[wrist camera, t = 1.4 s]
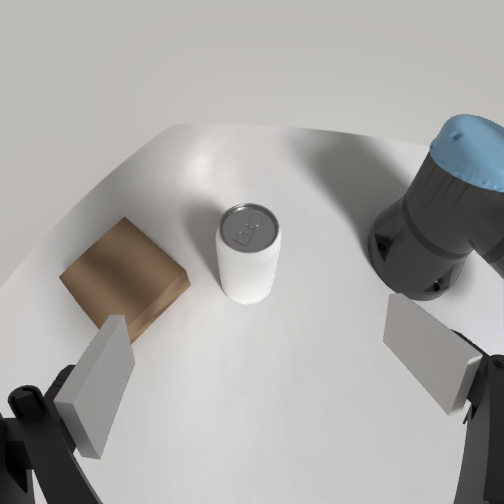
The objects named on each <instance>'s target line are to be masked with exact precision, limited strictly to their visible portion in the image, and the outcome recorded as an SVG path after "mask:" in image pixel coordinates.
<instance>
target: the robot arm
mask: <svg viewBox="0 0 504 504" xmlns="http://www.w3.org/2000/svg"><path fill="white" fill-rule="evenodd" d="M473 249H474V250H475V251H476V252H477V253H478V254H479V255H480V256H481V257H482V258H483V259H484V260H485V261H486V262H487V263H488V264H489V265H490V266H491V267H492V268H493V269H494V270H495V271H496V272H497V273H498V274H499V275H500V276H501V277H502V278H503V279H504V128H503V127H502V126H500V125H498V124H496V123H494V122H492V121H490V120H488V119H485V118H483V117H479V116H474V115H469V114H461V115H456V116H454V117H451V118H450V119H449V120H448V121H446V123H445V124H444V126H443V127H442V129H441V131H440V133H439V134H438V136H437V137H436V138H435V139H434V140H433V141H432V143H431V145H430V150H429V152H428V154H427V156H426V158H425V160H424V162H423V164H422V166H421V167H420V169H419V171H418V173H417V175H416V177H415V178H414V180H413V182H412V183H411V185H410V187H409V189H408V191H407V192H406V194H405V195H404V197H402V198H401V199H399V200H398V201H397V202H395V203H394V204H392V205H391V206H389V207H388V208H387V209H385V210H384V211H383V212H382V213H381V214H380V215H379V216H378V217H377V219H376V221H375V223H374V224H373V226H372V228H371V230H370V233H369V237H368V250H369V255H370V259H371V261H372V264H373V266H374V268H375V270H376V271H377V273H378V275H379V276H380V277H381V279H382V280H383V281H384V282H385V283H386V284H387V285H388V286H389V287H390V288H391V289H393V290H394V291H395V292H397V294H390V295H389V301H388V309H387V317H386V324H385V331H384V337H383V342H384V343H385V344H386V345H387V346H388V347H389V348H390V350H391V351H392V352H393V353H394V354H395V355H396V356H397V357H398V358H399V360H400V361H401V362H402V363H403V364H404V365H405V366H406V367H407V369H408V370H409V371H410V372H411V373H412V374H413V375H414V376H415V378H416V379H417V380H418V381H419V382H420V383H421V384H422V386H423V387H424V388H425V389H426V390H427V391H428V393H429V394H430V395H431V396H432V397H433V398H434V399H435V401H436V402H437V403H438V404H439V405H440V406H441V408H442V409H443V410H444V411H445V412H446V413H447V415H448V416H449V415H452V414H454V413H457V412H459V411H461V410H462V409H463V407H464V404H465V402H466V399H468V400H469V401H470V402H471V406H470V408H469V410H468V412H467V415H466V417H465V419H464V421H463V424H465V423H466V421H467V420H468V422H467V432H466V440H465V447H464V454H463V460H462V466H461V471H460V477H459V482H458V486H457V491H456V495H455V500H454V504H504V355H492V356H489V355H488V354H487V353H485V352H484V351H483V350H482V349H480V348H479V347H478V346H476V345H475V344H473V342H471V341H470V340H469V339H468V340H467V338H466V337H465V336H463V335H462V334H461V333H459V332H456V331H454V330H452V329H449V328H448V327H447V326H445V325H444V324H443V323H441V322H440V321H439V320H437V319H436V318H435V317H433V316H432V315H431V314H429V313H428V312H427V311H425V310H424V309H423V308H421V307H420V306H419V305H417V304H416V303H415V302H413V301H412V300H410V299H413V300H418V301H428V300H432V299H435V298H437V297H439V296H441V295H442V294H443V293H445V292H446V291H447V290H448V289H449V288H451V287H452V285H453V284H454V283H455V281H456V280H457V278H458V276H459V274H460V271H461V269H462V267H463V265H464V262H465V260H466V258H467V255H468V254H469V253H470V252H471V251H472V250H473ZM134 365H135V361H134V357H133V352H132V348H131V344H130V340H129V335H128V331H127V326H126V321H125V316H124V315H109V317H108V318H107V320H106V321H105V323H104V324H103V325H102V327H101V328H100V330H99V331H98V333H97V334H96V336H95V337H94V339H93V340H92V342H91V343H90V345H89V346H88V347H87V349H86V350H85V352H84V353H83V355H82V357H81V358H80V360H79V361H78V363H77V364H76V365H68V366H67V367H65V368H64V369H63V370H61V371H60V373H59V374H58V376H57V377H56V380H54V382H53V383H52V386H50V388H49V389H48V391H47V392H46V394H45V395H44V397H43V396H42V393H41V391H40V390H39V388H38V387H35V386H32V385H26V386H21V387H19V388H17V389H15V390H14V391H13V392H11V393H10V395H9V397H8V403H9V405H10V407H11V409H12V411H13V413H14V415H15V417H16V418H3V417H2V415H1V413H0V504H35V499H34V490H33V480H32V470H34V472H35V475H36V478H37V480H38V483H39V485H40V487H41V490H42V492H43V494H44V497H45V499H46V501H47V503H48V504H103V503H102V502H101V500H100V499H99V497H98V495H97V494H96V492H95V491H94V489H93V488H92V486H91V484H90V483H89V481H88V479H87V478H86V476H85V474H84V473H83V471H82V469H81V467H80V466H79V464H78V462H77V460H76V459H75V457H74V455H73V453H74V450H75V448H76V447H77V449H78V451H79V453H80V454H81V456H82V457H87V458H94V459H101V456H102V453H103V450H104V447H105V444H106V441H107V438H108V435H109V432H110V429H111V426H112V423H113V421H114V418H115V415H116V412H117V409H118V407H119V404H120V401H121V399H122V396H123V393H124V391H125V388H126V385H127V383H128V380H129V377H130V375H131V372H132V370H133V367H134Z"/></svg>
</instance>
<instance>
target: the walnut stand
mask: <svg viewBox="0 0 504 504" xmlns="http://www.w3.org/2000/svg"><path fill="white" fill-rule="evenodd" d="M59 278H60V279H61V281H62V282H63V284H64V285H65V286H66V288H67V289H68V290H69V292H70V293H71V294H72V296H73V297H74V298H75V300H76V301H77V302H78V304H79V305H80V306H81V307H82V309H83V310H84V311H85V313H86V314H87V315H88V316H89V318H90V319H91V320H92V321H93V322H94V324H95V325H96V326H97V327H98V329H99V330H100V328H101V327H102V325H103V324H104V323H105V321H106V320H107V318H108V317H109V315H124V316H125V321H126V326H127V331H128V335H129V340H130V344H132V343H133V342H134V341H135V340H136V339H137V338H138V337H139V336H140V335H141V334H142V333H143V332H144V331H145V330H146V329H147V328H148V327H149V326H150V325H151V324H152V323H153V322H154V321H155V320H156V319H157V318H158V317H159V316H160V315H161V314H162V313H163V312H164V311H165V310H166V309H167V308H168V307H169V306H170V305H171V304H172V303H173V302H174V301H175V300H176V299H177V298H178V297H179V296H180V295H181V294H182V293H183V292H184V291H185V290H186V289H187V288H188V287H189V286H190V282H189V279H188V276H187V273H186V270H185V269H183V268H182V267H181V266H180V265H179V264H178V263H176V262H175V261H174V260H173V259H172V258H171V257H169V256H168V255H167V254H166V253H165V252H164V251H163V250H161V249H160V248H159V247H158V246H157V245H156V244H155V243H154V242H152V241H151V240H150V239H149V238H148V237H147V236H146V235H145V234H143V233H142V232H141V231H140V230H139V229H138V228H137V227H136V226H135V225H133V224H132V223H131V222H130V221H129V220H128V219H127V218H126V217H124V218H123V219H122V220H120V221H119V222H118V223H117V224H116V225H115V226H113V227H112V228H111V229H110V230H109V231H108V232H107V233H106V234H104V235H103V236H102V237H101V238H100V239H99V240H98V241H97V242H95V243H94V244H93V245H92V246H91V247H90V248H89V249H88V250H87V251H86V252H85V253H84V254H82V255H81V256H80V257H79V258H78V259H77V260H76V261H75V262H74V263H73V264H72V265H71V266H70V267H69V268H68V269H67V270H66V271H65V272H64V273H63V274H62V275H61V276H59Z"/></svg>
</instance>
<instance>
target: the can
mask: <svg viewBox="0 0 504 504" xmlns="http://www.w3.org/2000/svg"><path fill="white" fill-rule="evenodd" d="M280 246H281V232H280V229H279V225H278V221H277V219H276V217H275V216H274V214H273V213H272V212H271V211H270V210H268V209H267V208H265V207H263V206H261V205H257V204H252V203H245V204H239V205H236V206H234V207H232V208H230V209H229V210H227V211H226V212H225V213H224V214H223V216H222V217H221V219H220V222H219V226H218V228H217V231H216V250H217V258H218V266H219V273H220V280H221V285H222V288H223V291H224V292H225V294H226V295H227V296H228V297H229V298H230V299H232V300H233V301H235V302H237V303H241V304H253V303H257V302H259V301H261V300H262V299H264V298H265V297H266V296H267V295H268V294H269V292H270V290H271V288H272V285H273V280H274V276H275V271H276V266H277V261H278V256H279V251H280Z"/></svg>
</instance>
